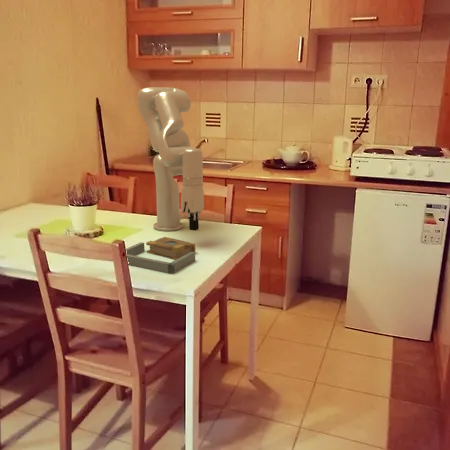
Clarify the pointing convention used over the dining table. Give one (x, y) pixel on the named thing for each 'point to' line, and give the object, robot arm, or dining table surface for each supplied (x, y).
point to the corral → (157, 264)
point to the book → (170, 247)
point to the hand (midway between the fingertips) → (194, 229)
